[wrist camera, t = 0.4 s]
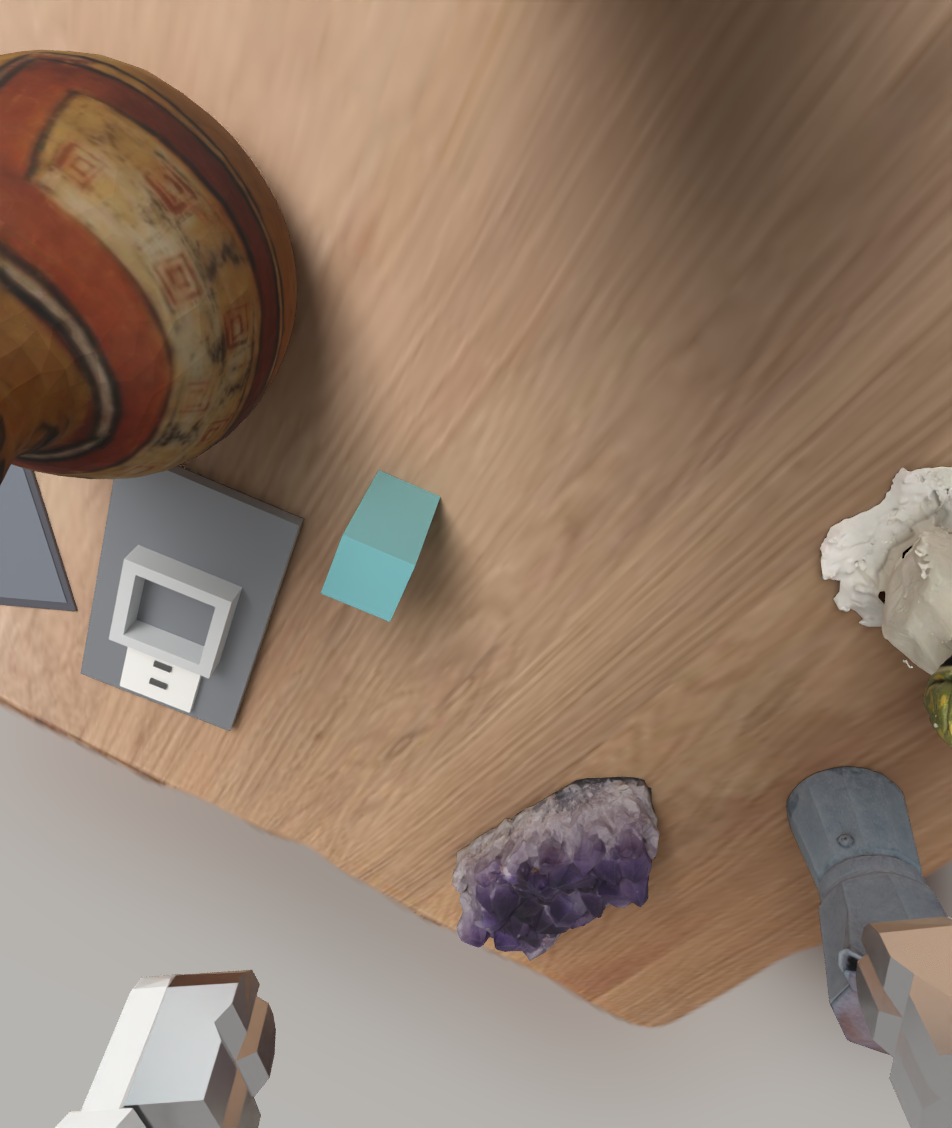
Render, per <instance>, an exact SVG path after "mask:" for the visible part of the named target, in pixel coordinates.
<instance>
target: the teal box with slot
mask: <svg viewBox="0 0 952 1128" xmlns="http://www.w3.org/2000/svg"><path fill="white" fill-rule="evenodd" d="M439 499H440V496H438V495H435V494H433V493H431V492H428V491H426V490H424V489H422V488H419V487H417V486H415V485H412V484H410V483H408V482H405V481H403V480H401V479H398V478H396V477H394V476H392V475H389V474H387V473H385V472H382V471H380V470H378V472H377V474H376V476H375V478H374V479H373V481H372V483H371V485H370V487H369V488H368V490H367V492H366V494H365V496H364V497H363V499H362V501H361V503H360V505H359V506H358V508H357V510H356V512H355V514H354V515H353V517H352V519H351V521H350V523H349V524H348V526H347V528H346V530H345V532H344V533H343V535H342V538H341V541H340V543H339V546H338V549H337V551H336V554H335V557H334V559H333V562H332V565H331V567H330V570H329V573H328V575H327V578H326V580H325V583H324V586H323V588H322V591H321V594H323V595H326V596H328V597H331V598H333V599H336V600H338V601H340V602H343V603H345V604H348V605H350V606H352V607H355V608H357V609H360V610H362V611H365V612H367V613H369V614H372V615H374V616H377V617H379V618H382V619H384V620H386V621H389V622H390V621H391V618H392V616H393V614H394V612H395V610H396V607H397V605H398V603H399V601H400V598H401V596H402V594H403V592H404V590H405V588H406V586H407V584H408V582H409V579H410V577H411V575H412V572H413V570H414V568H415V565H416V563H417V560H418V557H419V554H420V552H421V549H422V546H423V543H424V540H425V538H426V535H427V532H428V529H429V527H430V524H431V521H432V518H433V516H434V513H435V510H436V507H437V505H438V502H439Z"/></svg>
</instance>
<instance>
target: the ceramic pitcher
mask: <svg viewBox="0 0 952 1128" xmlns="http://www.w3.org/2000/svg"><path fill="white" fill-rule="evenodd" d="M296 305H297V281H296V271H295V262H294V255H293V251H292V246H291V242H290V237H289V234H288V230H287V227H286V223H285V220H284V218H283V215H282V213H281V211H280V209H279V206H278V204H277V202H276V200H275V198H274V196H273V195H272V193H271V191H270V189H269V188H268V186H267V184H266V183H265V181H264V179H263V178H262V176H261V174H260V173H259V171H258V170H257V168H256V166H255V165H254V163H253V162H252V160H251V159H250V158H249V157H248V155H247V154H246V153H245V152H244V150H243V149H242V148H241V146H240V145H239V144H238V143H237V141H236V140H235V139H234V138H233V136H232V135H231V134H230V133H229V132H228V131H227V130H226V129H225V128H224V127H223V126H222V125H221V124H220V123H218V122H217V121H216V120H215V119H214V118H213V117H212V116H211V115H210V114H208V113H207V112H206V111H204V110H203V109H202V108H201V107H199V106H198V105H197V104H196V103H194V102H193V101H192V100H190V99H189V98H188V97H187V96H185V95H184V94H183V93H181V92H180V91H178V90H177V89H175V88H173V87H172V86H170V85H169V84H167V83H166V82H164V81H163V80H161V79H159V78H158V77H156V76H155V75H153V74H151V73H149V72H148V71H146V70H144V69H141V68H138V67H136V66H133V65H130V64H127V63H124V62H121V61H118V60H115V59H112V58H109V57H105V56H102V55H99V54H90V53H81V52H72V51H53V50H34V51H21V52H15V53H10V54H4V55H0V485H1V483H2V481H3V479H4V477H5V475H6V473H7V471H8V469H9V467H10V465H11V464H12V465H15V466H18V467H22V468H25V469H28V470H32V471H37V472H42V473H48V474H53V475H58V476H67V477H76V478H86V479H128V478H136V477H143V476H147V475H151V474H155V473H159V472H163V471H166V470H168V469H170V468H173V467H175V466H178V465H180V464H182V463H184V462H186V461H188V460H190V459H193V458H195V457H197V456H198V455H200V454H202V453H203V452H205V451H206V450H208V449H209V448H211V447H212V446H214V445H215V444H217V443H218V442H219V441H221V440H222V439H224V438H225V437H227V436H228V435H229V434H230V433H231V432H232V431H233V430H234V429H235V428H236V427H237V426H238V425H239V424H240V423H241V422H242V421H243V420H244V419H245V418H246V417H247V416H248V415H249V414H250V412H251V411H252V410H253V409H254V407H255V406H256V405H257V403H258V402H259V401H260V399H261V398H262V396H263V394H264V393H265V391H266V390H267V388H268V387H269V385H270V384H271V382H272V381H273V379H274V377H275V375H276V373H277V371H278V368H279V366H280V364H281V362H282V360H283V357H284V355H285V352H286V349H287V346H288V344H289V341H290V337H291V333H292V329H293V325H294V320H295V316H296Z"/></svg>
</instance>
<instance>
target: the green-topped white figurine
mask: <svg viewBox="0 0 952 1128" xmlns="http://www.w3.org/2000/svg"><path fill="white" fill-rule="evenodd" d="M892 481H893V484H892V485H891V490H890V491H889V492H887V493H886V498H885V499H884V500H883V501H882V502H881V503H880V504H879V505H877V506H874V507H873V508H872V509H871V510H868V511H866V512H861V513H859V514H858V515H856V516H854V517H852V518H849V519H844V520H842V521H841V522H840V523H838V524H835V525H834V526H832V527H830V531H829V532H828V534H827V538H825V539H824V542H823V543H822V544H821V547H820V550H821V552H822V557H821V567H822V574H823V577H822V576H821V578H823V579H824V580H827V579H832V580H837V581H839V580H840V592H839V593H838V594H837V595H836V597H835V598H833V599H834V601H835V603H836V605H837V606H838V608H839V610H843V611H844V612H848V611H849V610H850V609H852V610H854V611H856V612H857V614H859V615H860V616H861V617H862V618H863V620H861V621H860V622H859V623H860V624H862V625H865V626H868V627H873V626H876V627H881V626H882V634H883V636H884V638H885V639H887V640H888V641H890V643H892V645H893V646H894V647H896V648H897V649H898V650H900V651H901V652H903V654H904V655H906V656H907V657H908V658H909V659H910V660H911V661H912V662H913V663H914V664H916V665H917V666H918V667H919V668H921V669H923V670H924V671H926V672H927V673H929V674H930V675H931V677H930V678H929V681H928V683H927V686H926V690H925V693H924V705H925V707H926V709H927V711H928V712H929V714H930V722H931V724H932V725H933V727H934V728H935V730H936V731H937V733H938V734H939V735H940V737H941V738H942V739H943V740H944V741H945V742H946V743H947V744H948V745H949V746H950V747H951V748H952V467H936V468H923V469H917V470H914V471H907V470H906V469H904V468H902V469H901V470H900V471H899V473H897V474H896V476H895V478H894V479H893V480H892ZM910 546H913V547H912V548H911V549H910V550H909V551H908V552H907V553H906V554H905V557H904V559H903V558H902V554H903V552H904V551H905V550H906V549H908V548H909V547H910ZM881 591H885V594H886V595H885V603H883V602H882V601H881V600H880V599H879V598H878V594H879V592H881ZM903 657H904V656H903ZM903 662H906V664H907V666H908V667H909V668H913V667H912V666H910V665H909V664H908V662H907V660H905V661H904V660H903Z"/></svg>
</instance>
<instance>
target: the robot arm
mask: <svg viewBox="0 0 952 1128" xmlns="http://www.w3.org/2000/svg"><path fill="white" fill-rule="evenodd" d="M861 941H862V943H863V946H864V948H865V950H866V952H867V954H866V955H865V956H863V957H862V958H861V959H860V960H859V961H857V968H856V977H855V979H856V986H857V993H858V1000H859V1003H860V1006H861V1009H862V1013H863V1016H864V1019H865V1021H866V1024H867V1026H868V1029H869V1031H870V1034H871V1036H872V1038H873V1040H874V1041H875V1042H876V1043H877V1044H878V1045H880V1046H881V1047H882V1048H883V1049H884V1050H885V1051H886V1052H888V1053H889V1054H890V1055H891V1056H892V1057H893V1058H894V1059H893V1064H892V1069H891V1073H890V1077H889V1078H890V1081H891V1083H892V1085H893V1088H894V1090H895V1092H896V1095H897V1097H898V1099H899V1101H900V1104H901V1106H902V1109H903V1111H904V1113H905V1115H906V1118H907V1120H908V1122H909V1125H910V1127H911V1128H952V917H946V916H941V917H931V918H920V919H909V920H899V921H888V922H877V923H868V924H867V925H866V926H865V927H864V928H863V933H862V938H861ZM258 988H259V982H258V980H257V978H256V976H255V974H254V973H253V971H252V970H243V971H228V972H214V973H200V974H186V975H181V974H175V975H163V976H152V977H142V978H141V979H140V980H139V981H138V983H137V984H136V985H135V987H134V988H133V989H132V990H131V992H130V994H129V996H128V999H127V1001H126V1004H125V1006H124V1008H123V1011H122V1013H121V1016H120V1018H119V1020H118V1023H117V1025H116V1028H115V1030H114V1032H113V1035H112V1037H111V1040H110V1042H109V1044H108V1047H107V1049H106V1052H105V1054H104V1057H103V1059H102V1061H101V1064H100V1066H99V1068H98V1071H97V1073H96V1076H95V1078H94V1081H93V1083H92V1085H91V1088H90V1090H89V1092H88V1095H87V1097H86V1100H85V1102H84V1105H83V1107H82V1109H81V1110H77V1111H70V1112H69V1113H68V1114H67V1115H66V1116H65V1117H64V1118H63V1119H62V1120H61V1121H60V1123H59V1124H58V1125H57V1126H56V1127H55V1128H258V1126H259V1121H260V1117H261V1114H260V1112H259V1109H258V1107H257V1104H256V1101H255V1099H254V1096H255V1095H256V1094H257V1093H258V1091H259V1090H260V1089H261V1088H262V1086H263V1085H264V1084H265V1083H266V1082H267V1080H268V1079H269V1078H270V1073H271V1068H272V1064H273V1059H274V1054H275V1053H274V1052H275V1033H276V1029H275V1022H274V1016H273V1013H272V1010H271V1008H270V1006H269V1004H268V1003H267V1002H266V1001H264V1000H262V999H260V998H259V997H257V992H258Z"/></svg>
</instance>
